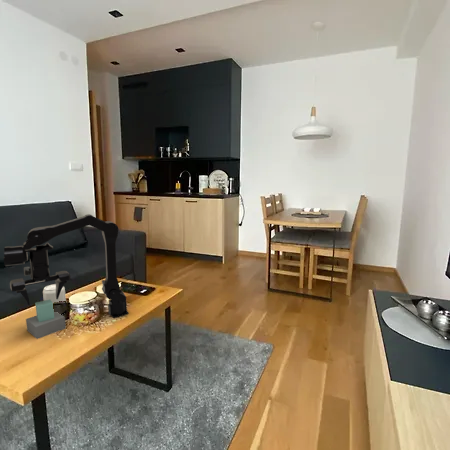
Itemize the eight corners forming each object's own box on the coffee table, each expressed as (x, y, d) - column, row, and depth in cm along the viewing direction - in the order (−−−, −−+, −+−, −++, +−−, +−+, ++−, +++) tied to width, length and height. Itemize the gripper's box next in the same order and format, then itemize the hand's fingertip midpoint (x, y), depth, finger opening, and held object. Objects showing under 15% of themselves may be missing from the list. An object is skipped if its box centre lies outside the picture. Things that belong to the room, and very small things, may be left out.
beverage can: (70, 309, 131) (68, 283, 129) (58, 318, 123) (56, 290, 121) (53, 309, 132) (51, 283, 130) (40, 317, 124) (37, 290, 122)
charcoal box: (55, 321, 121) (54, 310, 120) (65, 329, 114) (64, 317, 114) (27, 331, 113) (25, 318, 112) (37, 339, 107) (35, 326, 106)
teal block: (51, 313, 116) (50, 299, 116) (54, 318, 113) (52, 303, 112) (36, 317, 113) (35, 302, 112) (39, 322, 110) (37, 307, 109)
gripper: (62, 254, 122) (65, 290, 124) (6, 262, 110) (10, 302, 112) (69, 259, 114) (72, 298, 116) (9, 268, 101) (14, 311, 104)
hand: (43, 302), depth 112 cm, fingers open, 9 cm apart
